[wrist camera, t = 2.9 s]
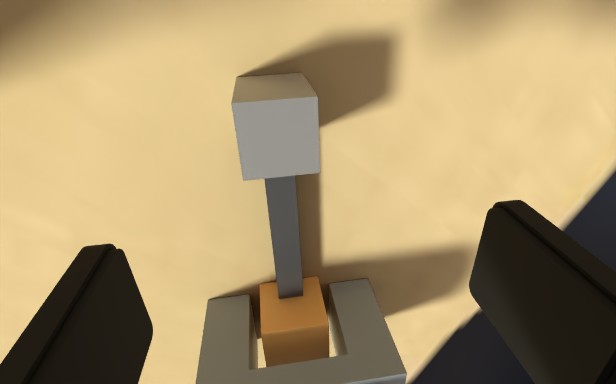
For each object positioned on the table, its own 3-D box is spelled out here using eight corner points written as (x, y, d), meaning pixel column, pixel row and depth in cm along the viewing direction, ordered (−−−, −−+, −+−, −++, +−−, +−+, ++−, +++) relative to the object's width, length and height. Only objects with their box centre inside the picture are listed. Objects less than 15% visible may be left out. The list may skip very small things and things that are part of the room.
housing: (208, 299, 29) (185, 454, 19) (367, 278, 31) (422, 412, 21) (219, 345, 32) (205, 499, 22) (365, 323, 34) (412, 459, 24)
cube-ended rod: (228, 77, 21) (220, 104, 16) (309, 71, 21) (328, 95, 16) (265, 323, 32) (268, 387, 27) (319, 316, 32) (331, 376, 27)
